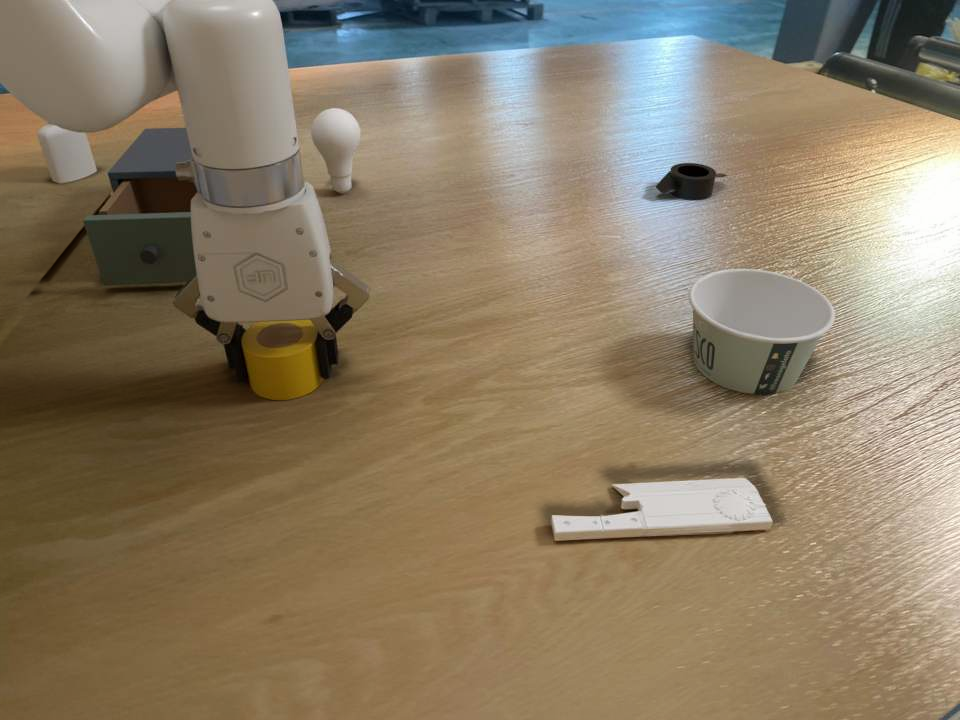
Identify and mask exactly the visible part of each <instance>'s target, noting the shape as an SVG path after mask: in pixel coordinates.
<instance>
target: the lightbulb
mask: <svg viewBox="0 0 960 720" xmlns="http://www.w3.org/2000/svg"><path fill="white" fill-rule="evenodd" d="M310 131H311V132H310V135H311V139H312V142H313V145H314V147H315V148H316V150H317V151H318V153H319V154H320V155H321V156H322V159H323V160H324V162H325V165H326V170H327V174H328V176H329V177H330V183H331V188H332V190H333V191H334V192H337V193H338V194H341V195H343V194H346V193H347V192H348V191H350V190H351V188H352V173H353V161H354V157H355V153H356V151H357V149H358V147H359V144H360V142H361V136H362V135H361V128H360V125H359V123H358V121H357V119H356V117H355V116H353V115H352V114H351V113H350V112H349V111H347V110H345V109H343V108H338V107H337V108H336V107H331V108H327V109H325V110H323V111H321V112H320V113H318V115H316V117H315V118H314V119H313V122H312V125H311V129H310Z"/></svg>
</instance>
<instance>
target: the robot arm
mask: <svg viewBox="0 0 960 720" xmlns="http://www.w3.org/2000/svg"><path fill="white" fill-rule="evenodd" d="M288 63H289V62H288V56H287V50H286V43H285V36H284V28H283V22H282V18H281V14H280V11H279V9H278V6H277V5H276V3H275V1H274V0H0V85H1V87H3V88H4V89H5V90H7V92H8V93H10V95H12V96H13V97H14V98H15V99H16V100H17V101H18V102H19V103H21V104H22V105H23V106H24V107H25V108H26V109H28V110H29V111H30V112H31V113H33V114H34V115H36V116H38V117H39V118H41V119H42V120H44V121H46V122H47V123H48V122H49V123H51V124H53V125H55V126H58V127H60V128H62V129H65V130H70V131H74V132H80V133H86V134H89V133H90V134H91V133H92V134H93V133H98V132H102V131H106V130H109V129H111V128H114V127H115V126H116V125H119V124H120V123H122V122H124V121H125V120H127V119H129V118H130V117H131V116H133V115H134V114H136V113H137V112H138V111H140V110H141V109H142V108H144V107H146V106H148V104H150V103H152V102H154V101H156V100H159V99H160V98H163V97H166V96H167V95H170V94H172V93H175V92H176V91H177V94H178V98H179V104H180V108H181V113H182V117H183V121H184V125H185V128H186V130H187V134H188V139H189V143H190V148H191V152H192V158H191V160H186V162H176V165H175V172H176V176H177V179H178V180H188V181H189V182H194V185H195V186H196V187H197V193H196V195H195V196H194V197H193V198H192V200H191V231H192V241H193V250H194V258H195V266H196V273H195V274H194V275H193V277H192V278H191V279H190V280H189V281H188V282H185V284H184V285H183V286H182V287H181V288H180V289H179V290H178V291H177V292H176V295H174V298H173V301H172V305H173V306H174V308H176V309H178V310H179V311H180V312H182V313H183V314H185V315H186V316H187V317H189V318H191V319H194V321H195V323H196V324H197V325H198V326H200V327H201V328H203V329H204V330H206V331H207V332H209V333H211V334H212V335H213V336H215V337H216V338H215V339H216V341H217V343H219V344H220V345H223V347H224V352H225V357H226V360H227V365H228V369H229V370H234V371H235V375H236V381H237V383H238V384H244V383H246V382H247V381H248V380H249V377H248V372H247V367H246V363H245V358H244V354H243V349H242V344H241V339H242V336H243V334H244V332H245V331H246V330H247V329H246V328H245V327H244V326H243V323H257V322H271V321H294V320H310V321H311V322H312V323H313V325H314V326H315V328H316V329H317V330H318V333H317V339H316V347H317V354H318V360H319V367H320V374H321V378H322V377H323V380H330V379H331V375H332V374H331V372H332V366H335V365H338V364H339V348H338V347H339V346H338V339H337V333H338V332H339V331H340V330H341V329H342V328H343V327H344V326H345V325H346V324H347V323H348V322H349V321H350V320H351V319H352V318H353V315H354V314H355V313H356V312H358V310H360V308H361V307H362V306H364V304H366V302H367V301H368V300H369V298H370V292H371V291H370V286H369V285H368V284H367V283H365V282H364V281H362V280H361V279H360V278H358V277H357V276H355V275H354V274H353V273H351V272H350V271H349V270H347V268H344V267H343V266H342V265H340V264H339V263H338V262H336V261H335V260H334V259H333V256H332V251H331V246H330V241H329V236H328V231H327V228H326V223H325V219H324V216H323V213H322V209H321V205H320V203H319V200H318V197H317V194H316V192H315V189H314V187H313V184H311V183H310V182H309V181H305V180H304V179H305V178H304V173H303V172H304V171H303V165H302V158H301V150H300V144H299V137H298V130H297V121H296V115H295V108H294V107H295V106H294V100H293V93H292V85H291V78H290V71H289V70H290V69H289V65H288ZM335 287H336V288H337V289H339V290H340V291H341V292H343V293H344V294H345V297H344V298H342V299H340V300H339V301H338V302H337V303H336V304H335V306H334V307H333V305H334V288H335ZM241 323H242V324H241Z"/></svg>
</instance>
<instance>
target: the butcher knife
mask: <svg viewBox="0 0 960 720" xmlns="http://www.w3.org/2000/svg"><path fill="white" fill-rule="evenodd" d="M611 487H613V488H614V489H615V490H616V491H617V492H618V493H619V494H620V495H622V498H621V504H620V509H621V510H637V511H631V512H625V513H618V514H608V515H603V514H600V515H598V516H597V515H596V516H594V515H593V516H592V515H589V516H587V515H558V514H551V518H550V524H551V529H552V533H553V539H554V541H555V542H558V541H559V542H560V541H562V542H563V541H578V540H579V541H580V540H597V539H615V538H616V539H617V538H635V537H662V536H663V537H666V536H674V535H680V536H691V535H692V536H693V535H694V534H705V535H715V534H717V535H718V533H727V534H732V533H733V532H745V531H765V530H771V528H772V525H773V519H772V517H771V514H770V511H768V509H767V503H764V501H763V498H762V497H761V495H760V493H759V490H758V489H757V488H756V485H754V484H753V483H751V481H750V480H749V479H747V478H746V477H732V478H714V479H713V478H712V479H693V480H691V479H690V480H673V481H652V482H651V481H650V482H633V483H632V482H631V483H612V484H611Z"/></svg>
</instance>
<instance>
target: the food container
mask: <svg viewBox="0 0 960 720" xmlns="http://www.w3.org/2000/svg"><path fill="white" fill-rule="evenodd" d="M688 302H689V304H690V306H691V309H692V347H693V348H692V349H693V350H692V351H693V363H694V364H695V367H696V369H697V370H698V371H699V372H700V373H701V374H702V375H703V377H705V378H707V379H708V380H709V381H711V382H712V383H714V384H716V385H717V386H720V387H722V388H725V389H728V390H731V391H734V392H738V393H742V394H750V395H772V394H778V393H781V392H784V391H787V390H788V389H790V388H791V387H793V386H794V385H795V384H796V383H797V381H798V379H799V378H800V376H801V374H802V372H803V371H804V369H805V366H807V363H808V361H809V360H810V358H811V356H812V354H813V352H814V351H815V350H816V347H817V345H818V343H819V341H820V340H821V338H822V336H823V335H825V334H826V333H828V332H829V331H830V330H832V328H833V326H834V325H835V322H836V321H835V320H836V311H835V308H834V306H833V305H832V303H831V301H830V300H829V298H827V297H826V296H825V295H824V294H823V293H822V292H821V291H820V290H818V289H817V288H815V287H813V286H812V285H809V284H808V283H807V282H804V281H802V280H799V279H796V278H794V277H793V276H792V277H791V276H789V275H785V274H782V273H778V272H774V271H768V270H762V269H755V268H730V269H729V268H728V269H722V270H717V271H713V272H709V273H707V274H705V275H702V276H701V277H699V278H698V279H696V281H694V282H693V283H692V285H691V286H690V288H689V290H688Z"/></svg>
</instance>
